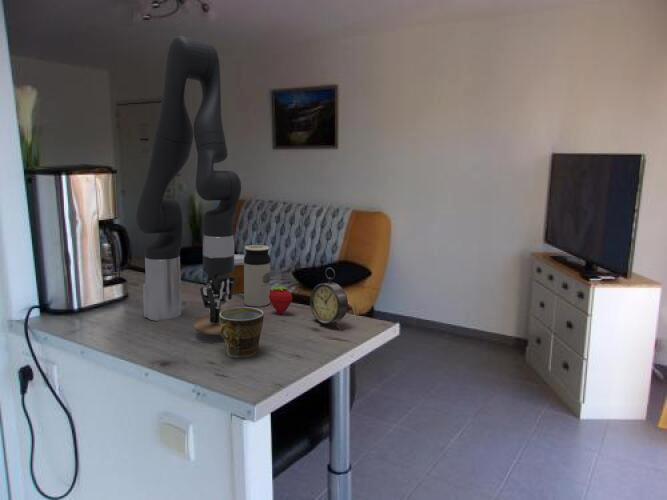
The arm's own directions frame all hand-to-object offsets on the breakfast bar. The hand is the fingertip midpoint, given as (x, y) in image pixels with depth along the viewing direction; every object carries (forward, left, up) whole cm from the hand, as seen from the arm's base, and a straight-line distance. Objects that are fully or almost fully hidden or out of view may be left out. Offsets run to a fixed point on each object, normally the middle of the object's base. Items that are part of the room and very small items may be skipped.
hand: (218, 319), depth 127 cm
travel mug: (-3, +31, -5) cm, 32 cm away
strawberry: (+8, +23, -5) cm, 25 cm away
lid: (0, 0, -2) cm, 2 cm away
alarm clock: (+24, +19, -5) cm, 31 cm away
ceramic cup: (+10, -10, -5) cm, 15 cm away
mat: (0, 0, -5) cm, 5 cm away
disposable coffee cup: (-16, +42, -5) cm, 45 cm away
